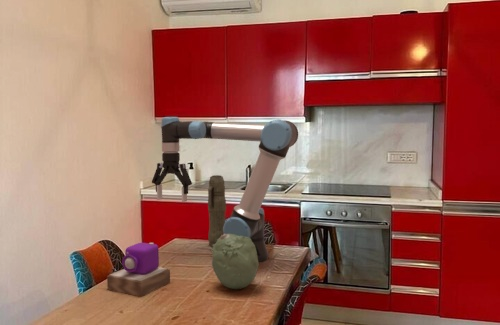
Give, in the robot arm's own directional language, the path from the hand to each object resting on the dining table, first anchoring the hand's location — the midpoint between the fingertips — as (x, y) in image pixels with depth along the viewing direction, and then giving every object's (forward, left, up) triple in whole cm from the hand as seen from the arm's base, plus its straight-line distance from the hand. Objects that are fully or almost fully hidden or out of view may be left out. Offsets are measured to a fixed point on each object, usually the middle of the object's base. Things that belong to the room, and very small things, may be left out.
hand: (171, 200), depth 193 cm
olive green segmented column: (-5, -29, -27) cm, 40 cm away
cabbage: (-42, +18, -27) cm, 53 cm away
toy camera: (-9, +32, -22) cm, 40 cm away
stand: (-9, +32, -27) cm, 43 cm away
